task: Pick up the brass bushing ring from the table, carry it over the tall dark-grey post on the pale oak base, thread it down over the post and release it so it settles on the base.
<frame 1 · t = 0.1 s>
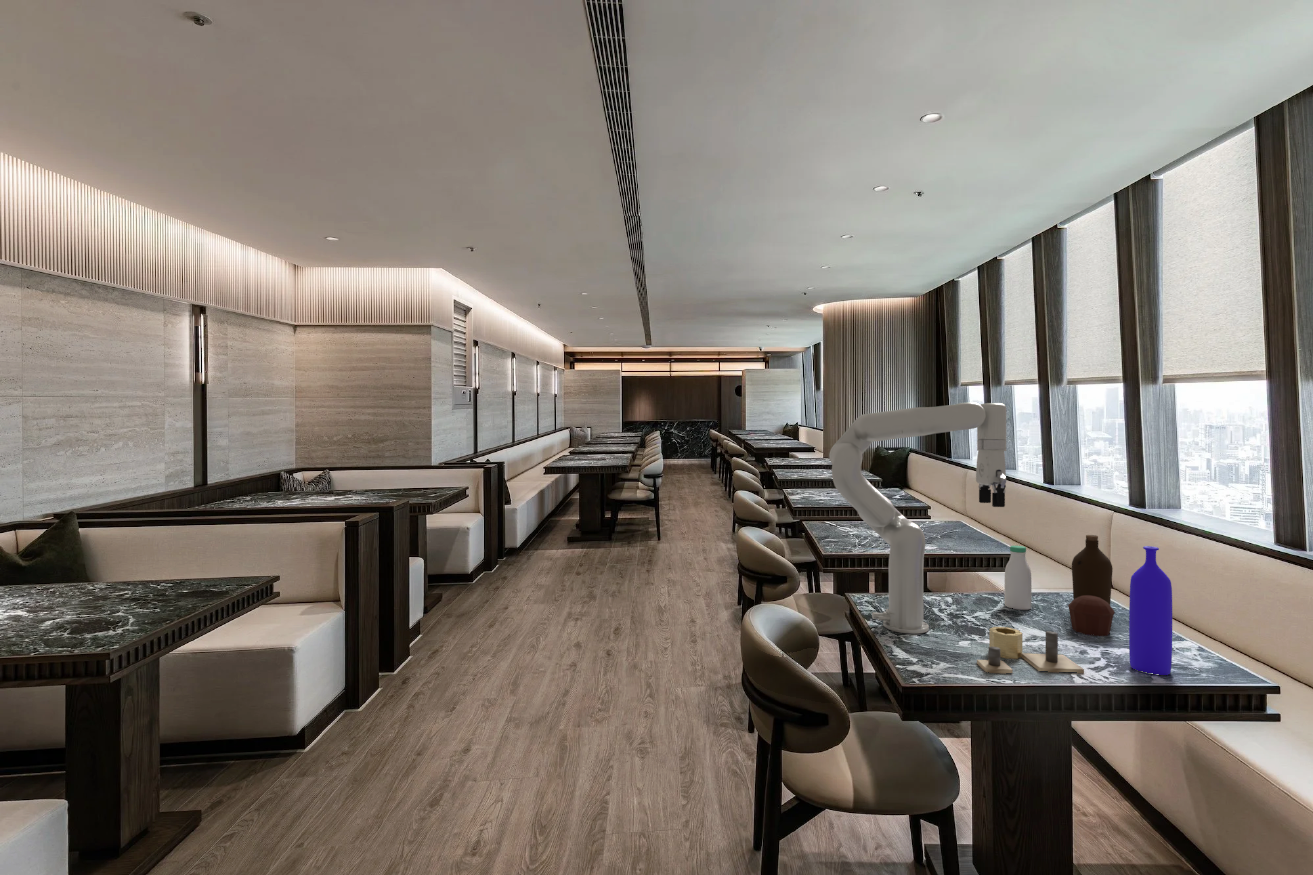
hand: (991, 504, 186), 37 cm above the table, tool pointing down, fingers open, 9 cm apart
short post: (994, 668, 157), on the table
olive oil: (1091, 615, 201), on the table
brass ring: (1005, 653, 167), on the table
milk bottle: (1017, 607, 210), on the table
muffin: (1090, 632, 185), on the table
post stand: (1051, 664, 159), on the table
bottle: (1150, 670, 156), on the table
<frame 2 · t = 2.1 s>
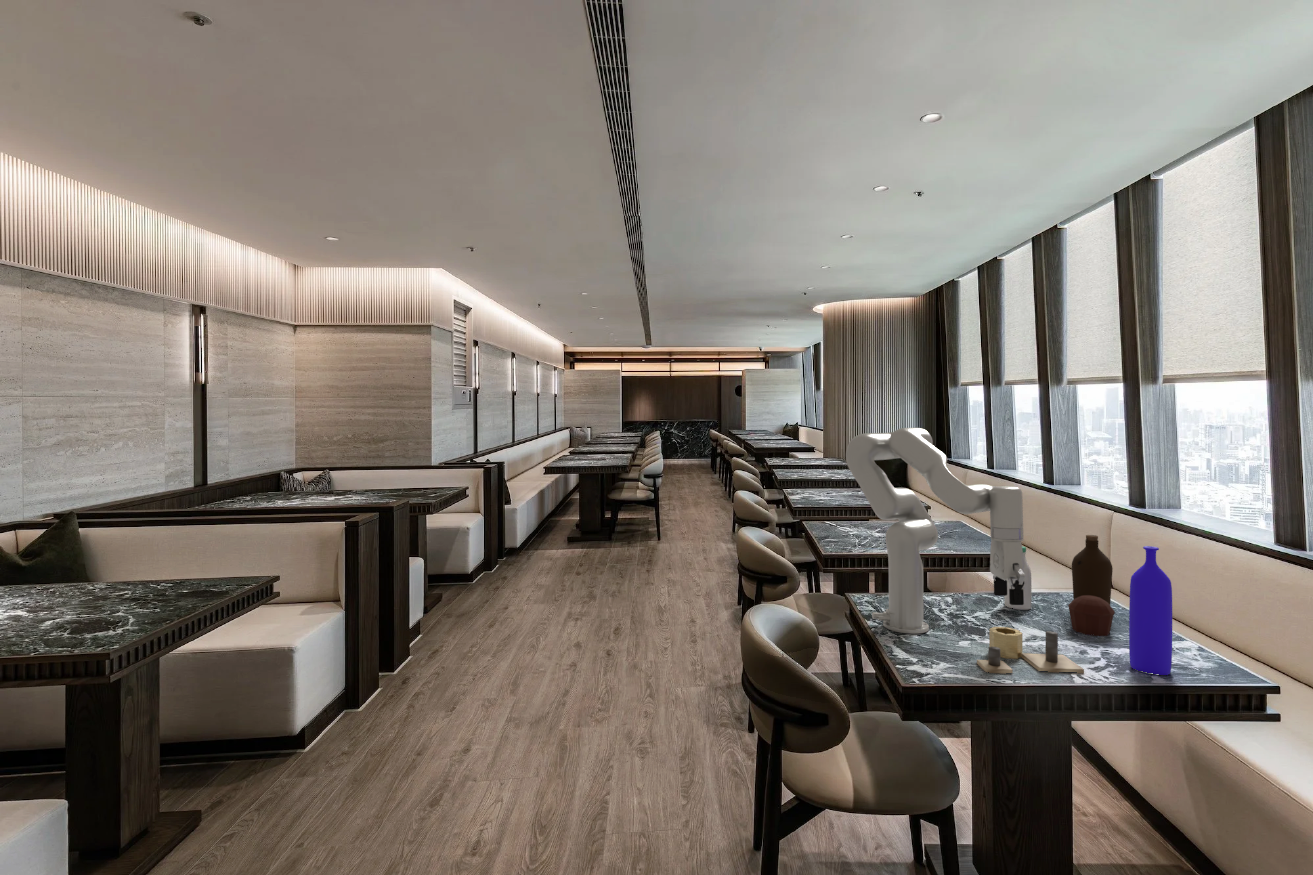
hand: (1008, 599, 167), 14 cm above the table, tool pointing down, fingers open, 9 cm apart
nothing on the table moved.
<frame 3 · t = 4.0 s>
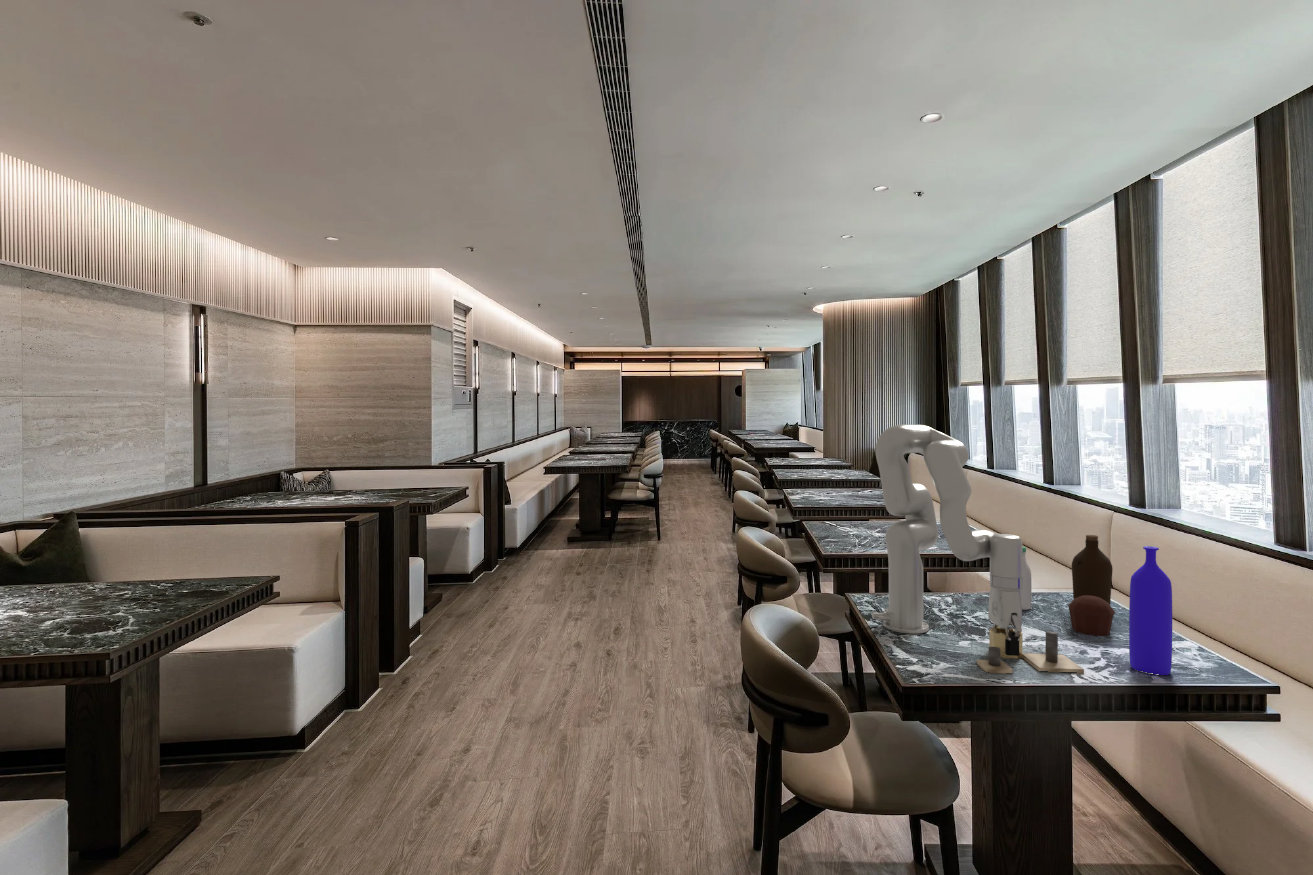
hand: (1005, 649, 167), 1 cm above the table, tool pointing down, fingers closed on brass ring, 7 cm apart
brass ring: (1005, 653, 167), on the table, touching gripper
everything else where it was.
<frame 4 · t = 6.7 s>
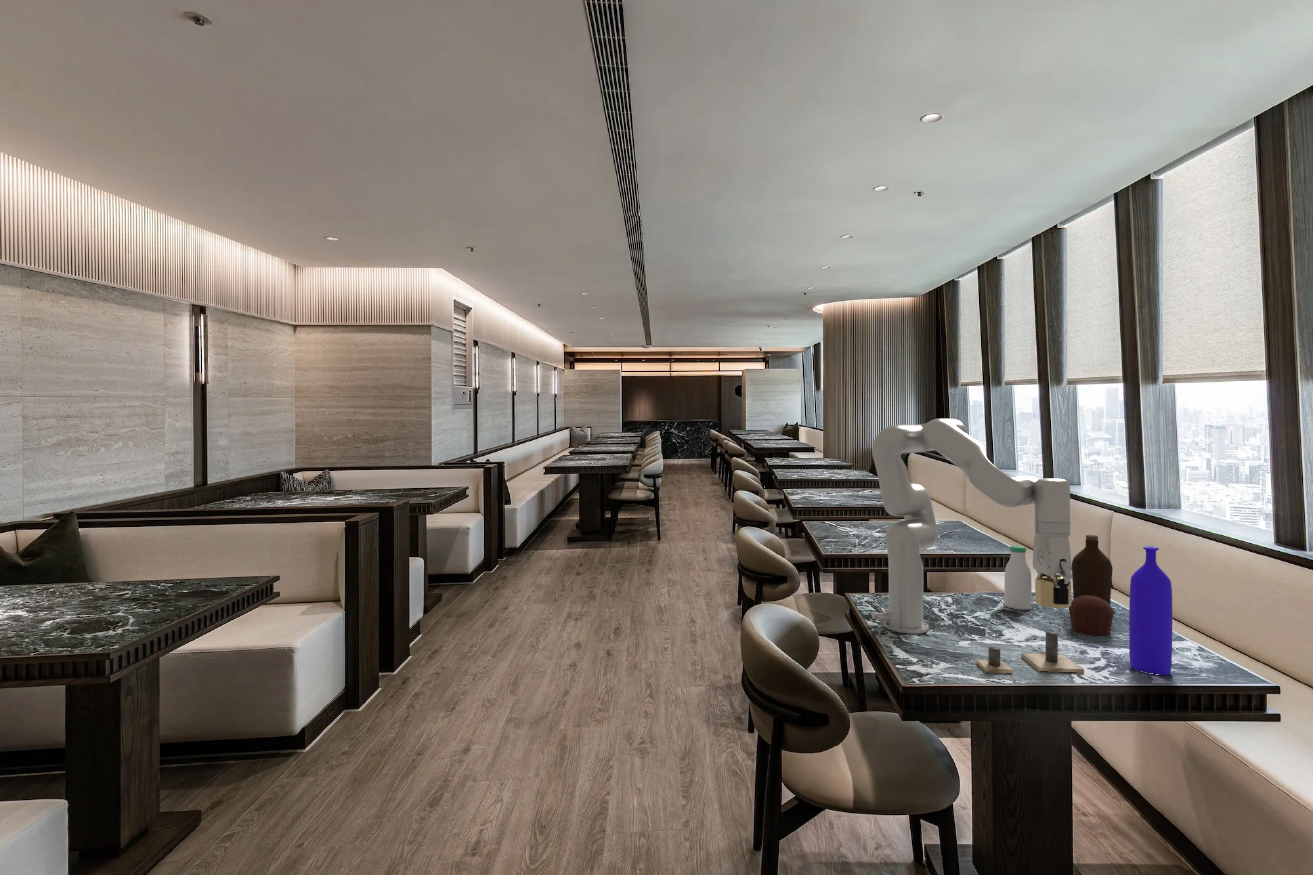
hand: (1052, 599, 159), 16 cm above the table, tool pointing down, fingers closed on brass ring, 7 cm apart
brass ring: (1053, 603, 159), point 15 cm above the table, touching gripper
everything else where it was.
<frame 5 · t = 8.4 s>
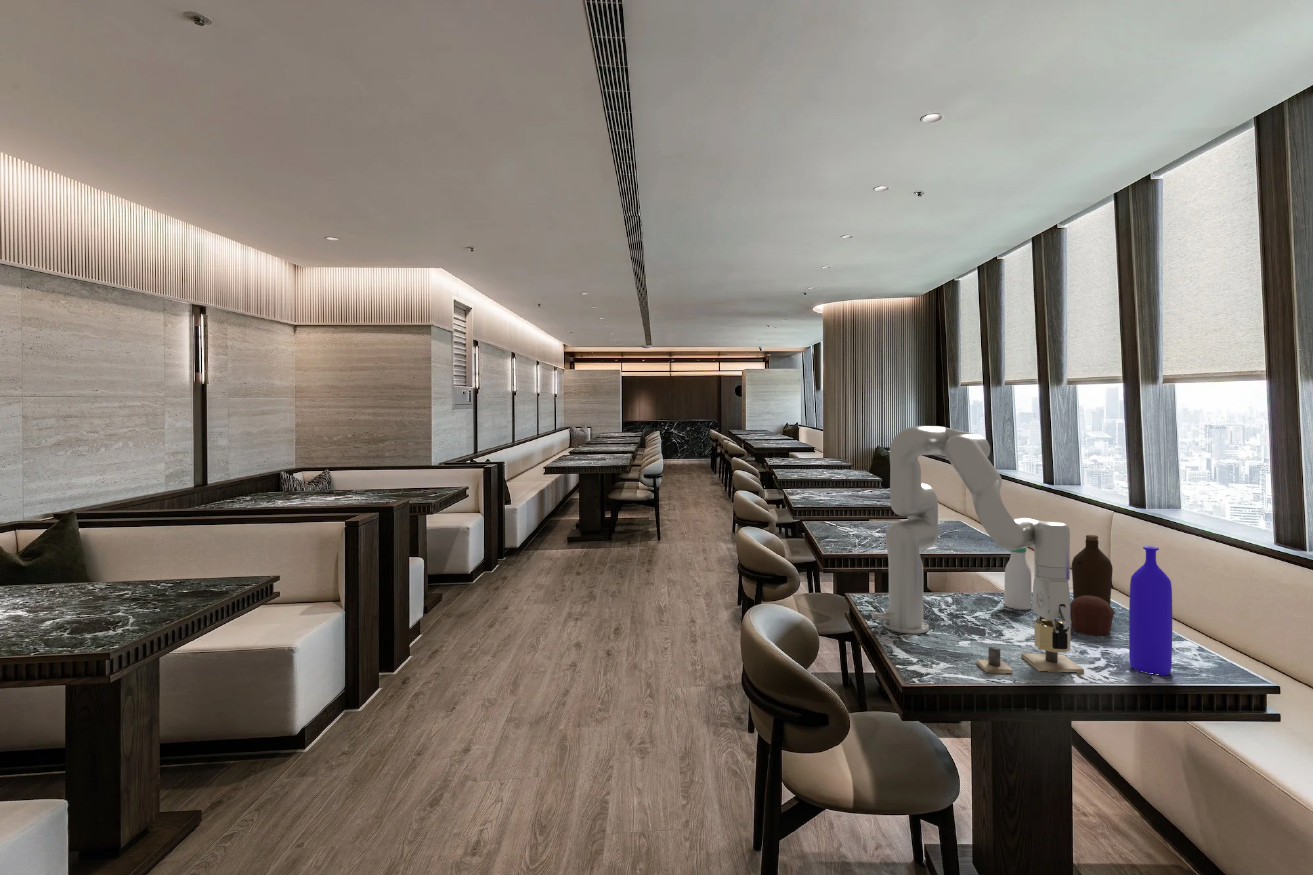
hand: (1052, 642, 159), 6 cm above the table, tool pointing down, fingers closed on brass ring, 7 cm apart
brass ring: (1052, 647, 159), point 4 cm above the table, touching gripper
everything else where it was.
when the fingers open (5 cm above the table, at t = 9.4 s): brass ring drops 3 cm, resting on post stand.
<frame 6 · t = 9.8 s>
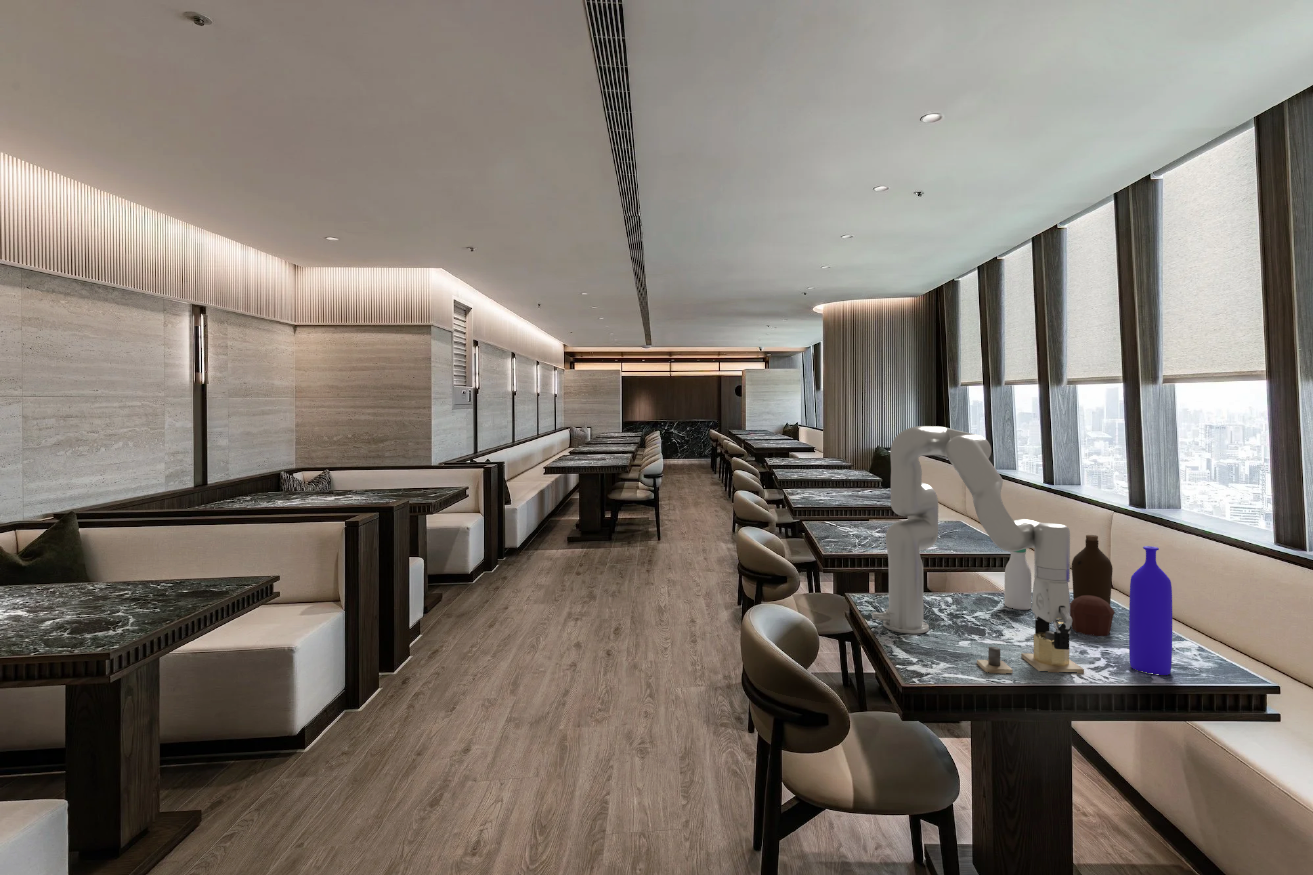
hand: (1051, 642, 159), 6 cm above the table, tool pointing down, fingers open, 9 cm apart
brass ring: (1051, 660, 160), point 1 cm above the table, touching post stand
everything else where it was.
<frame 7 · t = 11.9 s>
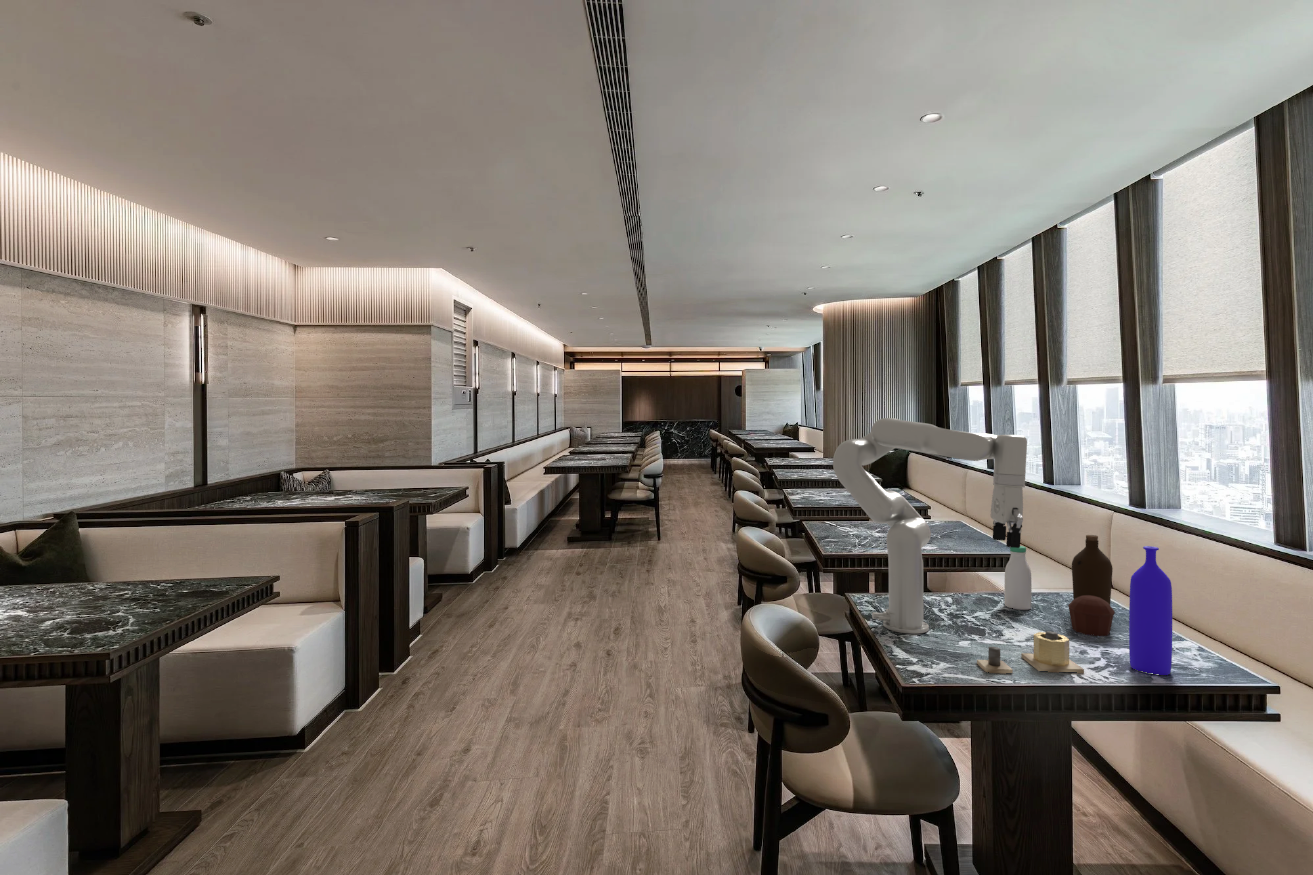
hand: (1005, 543, 173), 28 cm above the table, tool pointing down, fingers open, 9 cm apart
nothing on the table moved.
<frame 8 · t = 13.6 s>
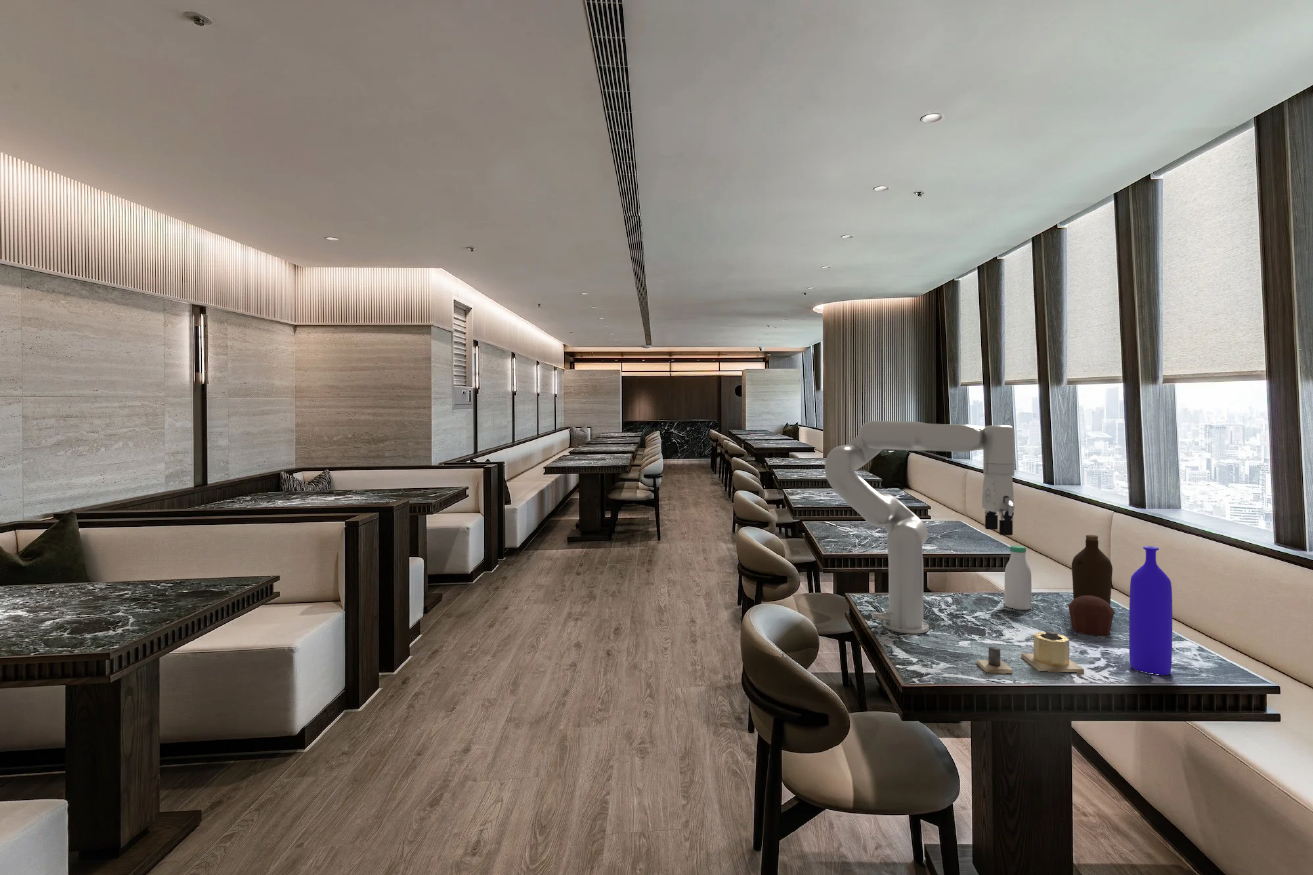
hand: (998, 532, 177), 30 cm above the table, tool pointing down, fingers open, 9 cm apart
nothing on the table moved.
at the end: brass ring 0.1 cm off-centre on the post stand, point 1.0 cm above the post stand's base; the gripper is holding nothing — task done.
